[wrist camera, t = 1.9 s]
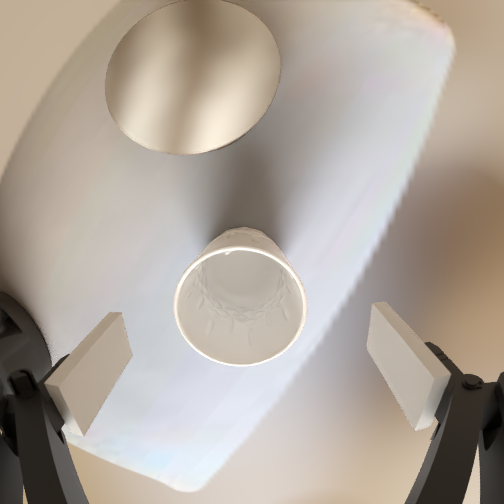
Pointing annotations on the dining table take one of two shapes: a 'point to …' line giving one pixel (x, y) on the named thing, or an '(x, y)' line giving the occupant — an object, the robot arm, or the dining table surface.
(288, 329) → the white cup
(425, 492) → the robot arm
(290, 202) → the dining table surface
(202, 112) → the cake stand
